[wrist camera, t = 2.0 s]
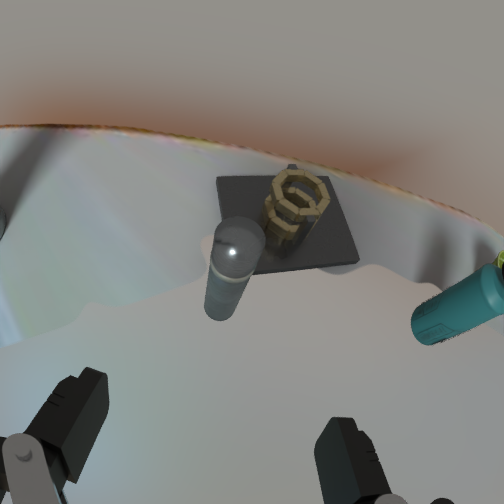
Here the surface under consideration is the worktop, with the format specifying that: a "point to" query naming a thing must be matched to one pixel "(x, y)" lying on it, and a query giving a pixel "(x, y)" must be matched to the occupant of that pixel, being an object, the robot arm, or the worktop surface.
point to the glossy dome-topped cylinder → (232, 264)
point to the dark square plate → (291, 219)
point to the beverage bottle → (460, 306)
